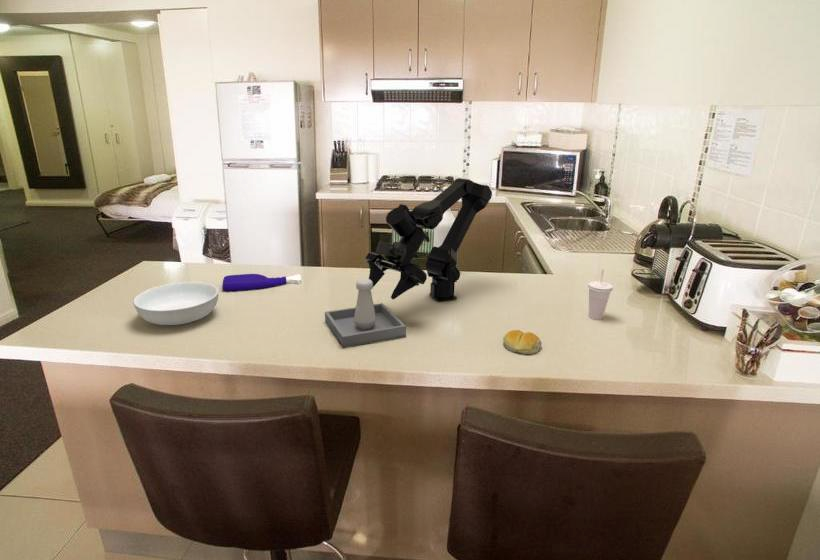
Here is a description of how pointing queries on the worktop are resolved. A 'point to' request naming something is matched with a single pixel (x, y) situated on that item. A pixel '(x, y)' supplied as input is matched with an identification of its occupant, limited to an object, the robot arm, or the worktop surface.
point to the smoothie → (598, 298)
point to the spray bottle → (255, 282)
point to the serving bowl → (176, 302)
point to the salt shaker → (364, 305)
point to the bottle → (443, 227)
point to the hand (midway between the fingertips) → (379, 294)
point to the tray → (353, 336)
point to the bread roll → (522, 342)
